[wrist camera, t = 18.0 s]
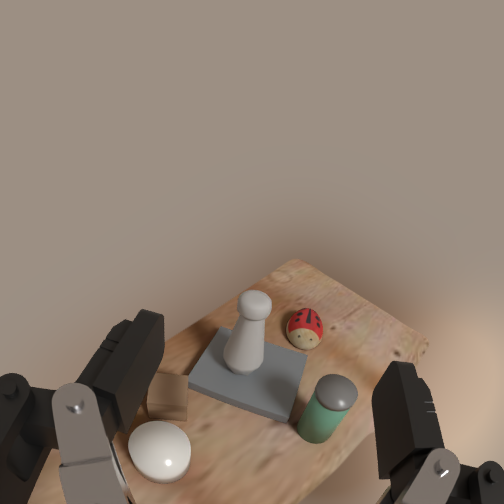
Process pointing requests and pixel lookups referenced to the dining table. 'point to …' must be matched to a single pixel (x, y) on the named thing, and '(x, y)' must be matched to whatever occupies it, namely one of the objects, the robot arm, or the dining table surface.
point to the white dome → (160, 451)
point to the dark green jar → (326, 408)
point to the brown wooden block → (168, 397)
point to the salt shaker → (248, 333)
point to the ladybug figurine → (305, 329)
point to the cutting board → (250, 379)
